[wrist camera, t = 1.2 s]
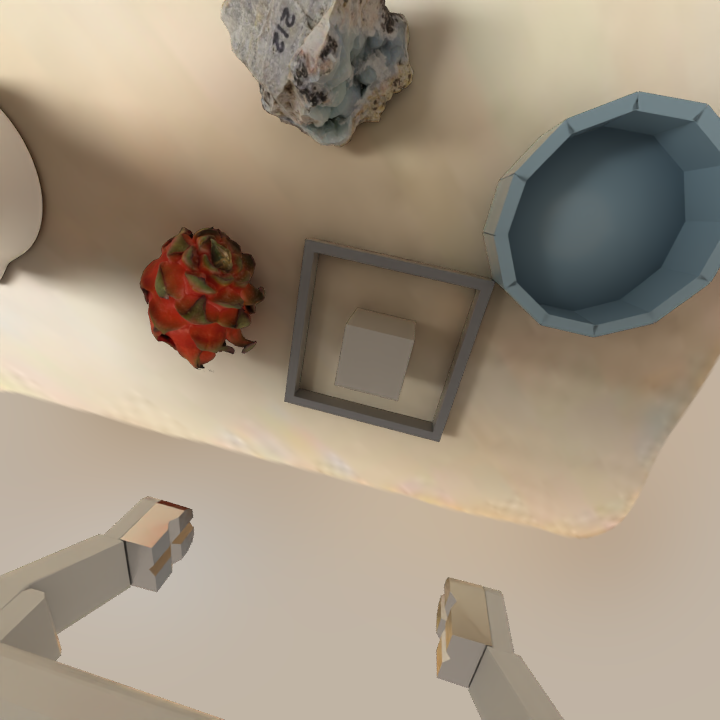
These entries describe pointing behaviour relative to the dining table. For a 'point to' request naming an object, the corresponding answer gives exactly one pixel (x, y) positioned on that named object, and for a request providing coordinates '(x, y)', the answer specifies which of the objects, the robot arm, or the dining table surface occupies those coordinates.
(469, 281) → the tray
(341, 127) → the mineral specimen
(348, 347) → the pebble block
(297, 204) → the dining table surface
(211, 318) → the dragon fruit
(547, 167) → the bowl
